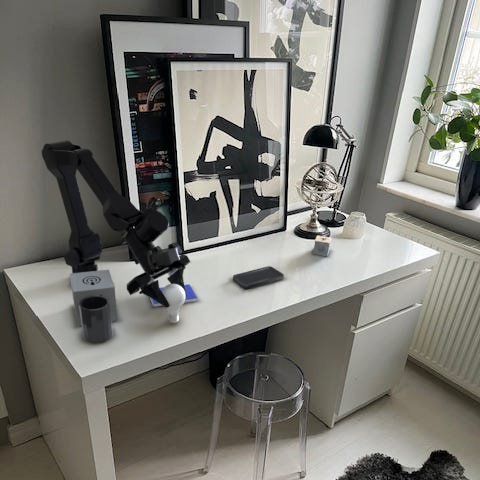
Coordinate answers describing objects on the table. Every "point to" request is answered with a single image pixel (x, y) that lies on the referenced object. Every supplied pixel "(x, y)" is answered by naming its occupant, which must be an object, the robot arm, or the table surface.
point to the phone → (258, 277)
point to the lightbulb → (174, 300)
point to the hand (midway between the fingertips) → (177, 302)
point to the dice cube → (322, 245)
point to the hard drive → (190, 297)
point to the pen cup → (96, 318)
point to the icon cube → (93, 289)
